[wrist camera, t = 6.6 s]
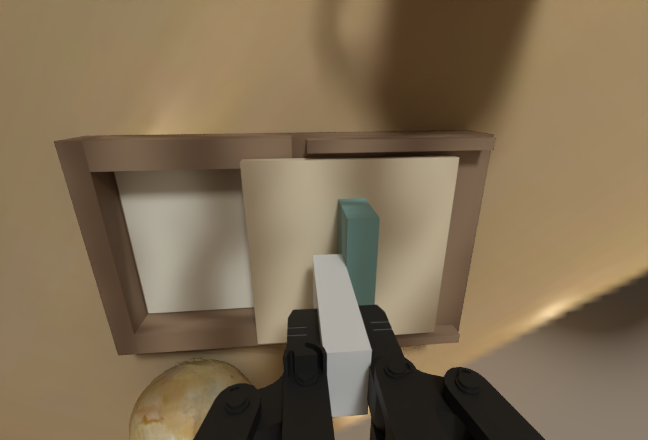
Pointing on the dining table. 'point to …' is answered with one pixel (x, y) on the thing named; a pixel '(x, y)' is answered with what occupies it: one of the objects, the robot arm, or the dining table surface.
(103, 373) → the dining table surface
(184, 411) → the onion
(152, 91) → the dining table surface
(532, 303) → the dining table surface
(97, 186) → the brown sliding lid box
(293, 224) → the cover
